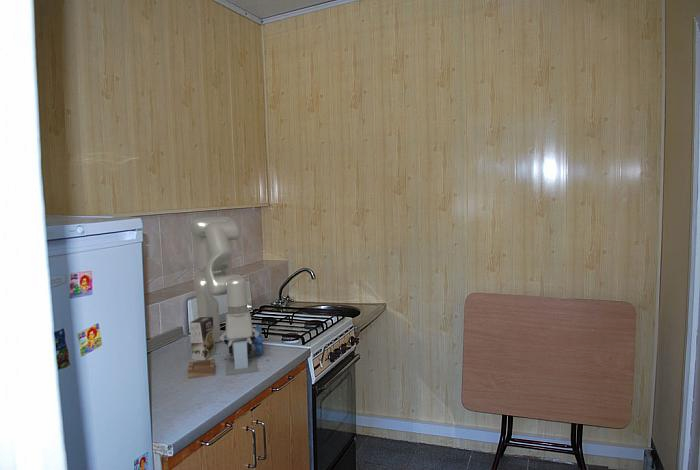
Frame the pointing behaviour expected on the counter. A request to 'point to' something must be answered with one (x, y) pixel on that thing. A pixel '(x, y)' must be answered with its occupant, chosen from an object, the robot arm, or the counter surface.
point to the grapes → (258, 341)
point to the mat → (232, 371)
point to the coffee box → (202, 338)
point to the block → (240, 354)
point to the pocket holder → (201, 368)
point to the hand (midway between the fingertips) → (240, 353)
